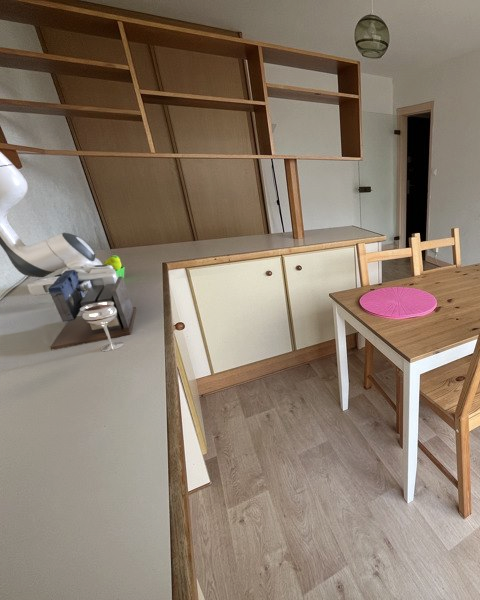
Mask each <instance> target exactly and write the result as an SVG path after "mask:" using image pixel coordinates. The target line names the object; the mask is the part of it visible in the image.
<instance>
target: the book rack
mask: <svg viewBox="0 0 480 600" xmlns="http://www.w3.org/2000/svg"><path fill="white" fill-rule="evenodd" d="M127 289H128V288H127V286H126V283H125V279H124V278H123V277H122V276H121V277H118V279H117V281H116V283H114V284H106V286H104V285H98V286H91V288H90V289H89V290H88V291H86V294H85V296H84V298H83V299H82V301H81V302H80V303H81V306H82V307H83V306H86V305H89V304H93V303H97V302H106V301H110V302H114V305H113V306H114V307H115V308H116V309H117V316H116V317H115V319H114V320H113V321H112V322H110V323H108V325H107V328H108V332H109V335H110V338H111V339H114V338H115V339H116V338H119V337H124V336H125V337H126V336H130V335H132V330H133V326H134V323H135V322H134V321H135V319H136V314H137V310H138V309H137V306H132V302H131V299H130V296H129V292H128V290H127ZM104 340H108V337H107V335H106V333H105V331H104V328H103V326H100V325H92V324H90V323H87V322H86V321H85V320H84V319H83V317H82V315H77V317H76V319H75V320H72V321H66V322H65V325H64V326H63V327H62V329H61V330H60V331H59V333H58V335H57V336H56V338H55V339H54V341H52V344H51V345H50V350H51V351H53V350H52V349H54V350H58V348H59V349H64V348H69V347H74V346H79V345H83V343H85V344H90V343H94V342H99V341H104ZM89 342H90V343H89ZM78 344H79V345H78ZM73 345H74V346H73ZM68 346H69V347H68ZM63 347H64V348H63Z"/></svg>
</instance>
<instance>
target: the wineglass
mask: <svg viewBox="0 0 480 600" xmlns="http://www.w3.org/2000/svg"><path fill="white" fill-rule="evenodd" d="M113 305H114V302H110V301H106V302H97V303H93V304H89V305H86V306H83V307H82V308H80V312H82V314H81V316H82V317H83V319H84V320H85V321H86V322H87V323H90V324H92V325H100V326H103V328H104V331H105V333H106V335H107V337H108V339H107V340H108V342H109V343H107V344H105V345H103V346H101V347H102V348H101V347H100V348H101V350H102V351H101V350H100V351H101V352H109V351H114V350H117V349H120V348H121V347H123V346H124V345H125V343H124V342H123V341H116V342H112V338H110V335H109V332H108V328H107V325H108V323H110V322H112V321H113V320H114V319H115V317H116V316H117V309H116V308H115V307H114V306H113Z"/></svg>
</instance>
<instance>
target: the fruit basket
mask: <svg viewBox="0 0 480 600" xmlns="http://www.w3.org/2000/svg"><path fill="white" fill-rule="evenodd" d="M103 265H111V266H112V267H113V269H114V270H115V271H116V274H117V277H121V276H122V277H123V279H125V269H126V267H125V266H122V262H121V258H120V257H119V256H118V255H116V254H115V255H113V254H112V255H111V256H110V257H109V258H108V259H106V260H105V261H104V263H103Z"/></svg>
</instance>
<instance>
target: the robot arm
mask: <svg viewBox="0 0 480 600" xmlns="http://www.w3.org/2000/svg"><path fill="white" fill-rule="evenodd" d="M28 185H29V184H28V181H27V180H26V178H25V176H24V175H23V174H22V173H21V171H20V170H19V169H18V168H17V167H16V165H14V164H13V162H11V160H9V158H8V157H7V156H6V155H5V154H3V152H1V151H0V247H1V248H2V249H3V251H4V252H5V254H6V255H7V257H8V259H9V261H10V262H11V264H12V265H13V267H14V268H15V269H16V270H17V271H18V272H19V273H20V274H22V275H24V276H26V277H33V278H37V279H35V280H33V281H31V282H29V283H28V284H27V285H26V287H27V290H28V292H29V293H30V295H31V296H35V297H37V296H43V295H44V296H45V295H50V293H49V290H48V288H49V287H50V286H51V285H53V284H54V282H55V281H56V280H57V279H58V278H59V277H60V276H57V277H54V276H50V277H49V275H51V274H53V273H55V272H56V271H58V270H61V269H63V268H65V269H64V270H63V271H62V272H61V273H60V274H61V275H62V274H63V273H64V272H65V271H68V270H75V271H76V273H77V275H78V281H79V282H80V284H78V285H76V288H77V291H84V292H88V291H89V289H90V288H91V286H98V285H104V286H106V284H114V283H116V281H117V279H118V277H117V274H116V271H115V270H114V269H113V267H112V266H111V265H104V263H102V261H101V260H100V259H98V258H97V257H96V252H95V250H94V249H93V248H92V246H91V245H90V244H89V243H88V242H87V241H86V240H85V239H84V238H82V237H80V236H78V235H76V234H72V233H68V232H61V233H59V234H56V235H53V236H50V237H48V238H46V239H44V240H41V241H38V242H34V243H33V244H30V245H29V244H28V245H26V244H24V242H23V240H22V239H21V238H20V237H19V235H18V234H17V232H16V231H15V229H14V228H13V227H12V226H11V224H10V223H9V219H8V215H9V213H10V211H11V210H12V209H13V208H14V207H15V206H16V205H17V204H19V203H20V202H21V201H22V200H23V199H24V197H25V196H26V195H27V193H28V189H29V186H28ZM47 276H48V277H47Z"/></svg>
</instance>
